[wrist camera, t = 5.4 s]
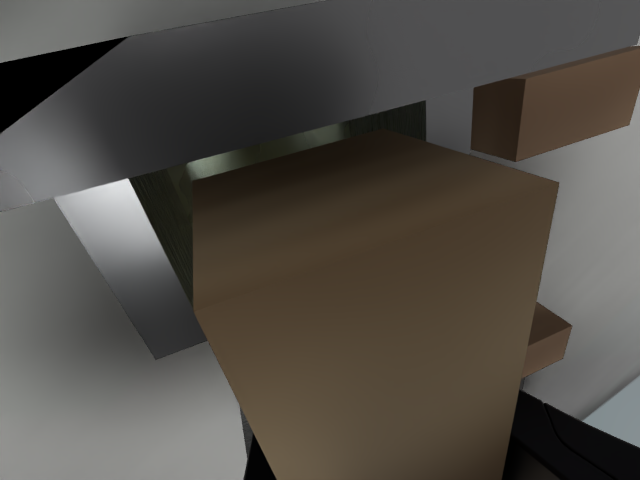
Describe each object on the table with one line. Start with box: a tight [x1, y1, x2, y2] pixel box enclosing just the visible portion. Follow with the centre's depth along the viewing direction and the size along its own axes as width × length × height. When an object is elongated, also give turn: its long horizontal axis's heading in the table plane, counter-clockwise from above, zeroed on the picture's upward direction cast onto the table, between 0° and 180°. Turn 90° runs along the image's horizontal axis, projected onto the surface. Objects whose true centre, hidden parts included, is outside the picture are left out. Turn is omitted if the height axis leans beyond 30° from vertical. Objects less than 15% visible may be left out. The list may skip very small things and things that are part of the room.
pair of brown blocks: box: [470, 46, 640, 379], centre depth 12 cm, size 12×4×3 cm, turn 10°
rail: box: [192, 128, 559, 480], centre depth 7 cm, size 12×4×4 cm, turn 10°
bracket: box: [0, 0, 640, 459], centre depth 9 cm, size 15×7×7 cm, turn 10°
